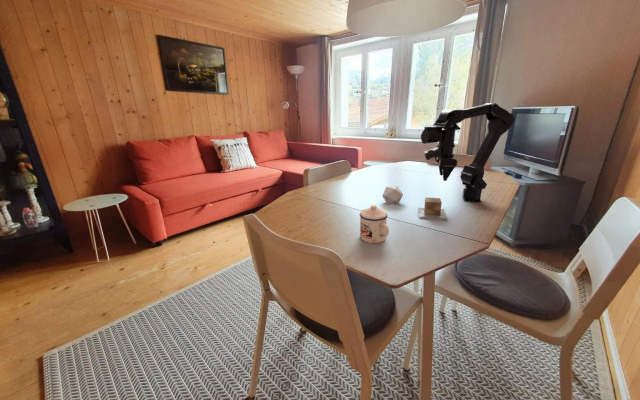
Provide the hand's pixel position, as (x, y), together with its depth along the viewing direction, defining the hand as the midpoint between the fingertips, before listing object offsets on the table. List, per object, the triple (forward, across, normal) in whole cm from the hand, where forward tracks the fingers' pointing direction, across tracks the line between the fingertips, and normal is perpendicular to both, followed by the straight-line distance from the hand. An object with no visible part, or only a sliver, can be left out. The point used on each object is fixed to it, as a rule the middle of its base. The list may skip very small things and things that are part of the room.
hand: (442, 177), depth 113 cm
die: (+12, +3, -21) cm, 24 cm away
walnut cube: (+11, +14, -5) cm, 19 cm away
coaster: (+12, +15, -5) cm, 19 cm away
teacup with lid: (+11, +40, -26) cm, 49 cm away
